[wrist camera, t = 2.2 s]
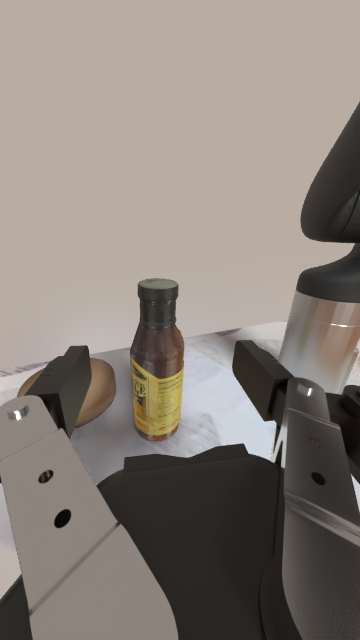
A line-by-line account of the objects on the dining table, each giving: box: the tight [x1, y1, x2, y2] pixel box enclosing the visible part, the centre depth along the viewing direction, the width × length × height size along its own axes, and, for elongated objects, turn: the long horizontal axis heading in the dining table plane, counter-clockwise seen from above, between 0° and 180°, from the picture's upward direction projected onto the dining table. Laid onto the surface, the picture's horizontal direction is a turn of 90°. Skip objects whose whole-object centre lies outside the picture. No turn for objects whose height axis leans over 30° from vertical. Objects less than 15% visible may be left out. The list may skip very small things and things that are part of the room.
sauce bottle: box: [130, 279, 184, 441], centre depth 25 cm, size 7×6×20 cm
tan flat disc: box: [17, 358, 116, 428], centre depth 32 cm, size 13×13×3 cm
